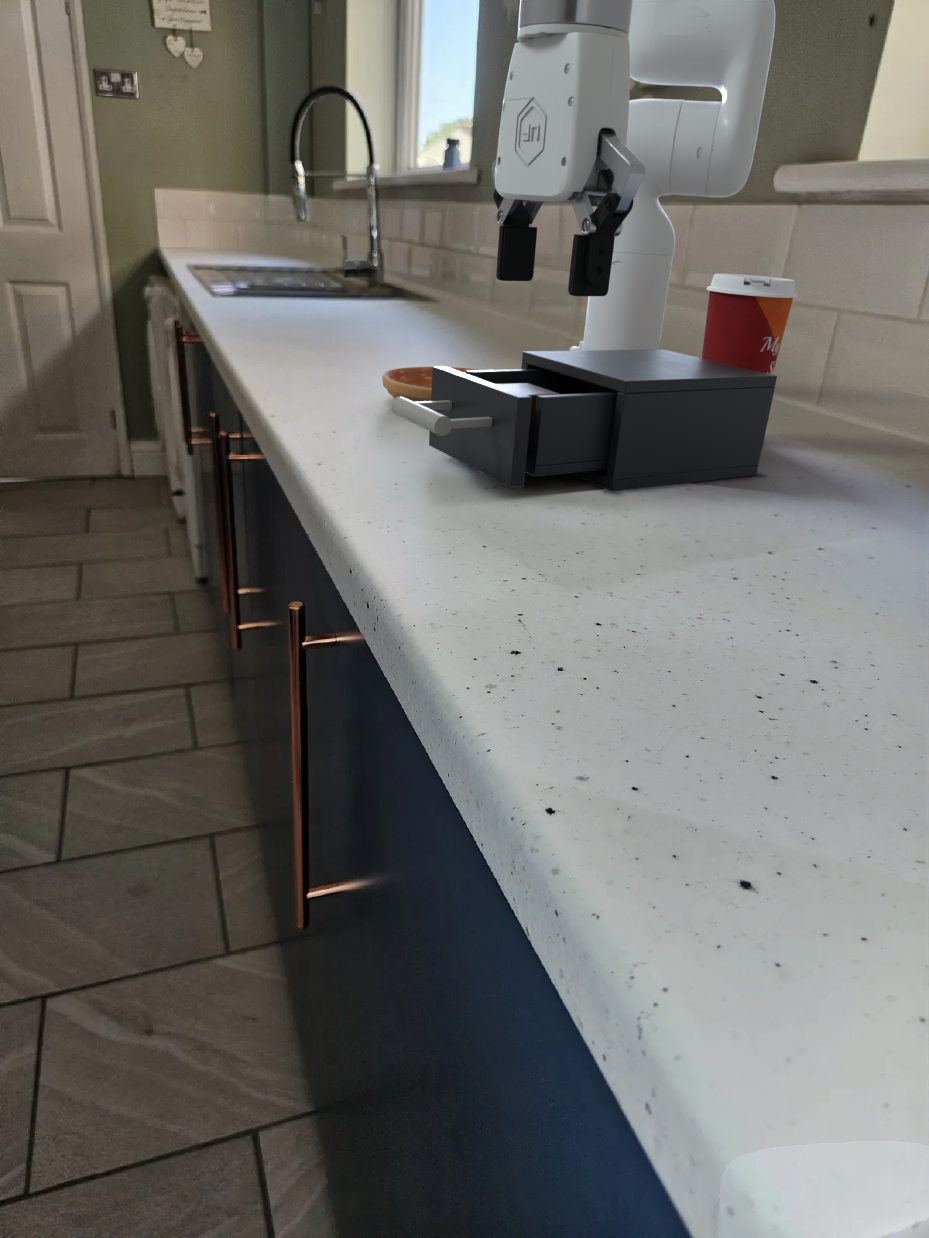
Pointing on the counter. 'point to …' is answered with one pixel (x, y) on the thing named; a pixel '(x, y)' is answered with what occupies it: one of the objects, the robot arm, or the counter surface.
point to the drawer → (515, 422)
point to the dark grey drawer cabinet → (671, 414)
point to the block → (533, 392)
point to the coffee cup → (747, 320)
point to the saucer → (412, 382)
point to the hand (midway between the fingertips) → (549, 287)
